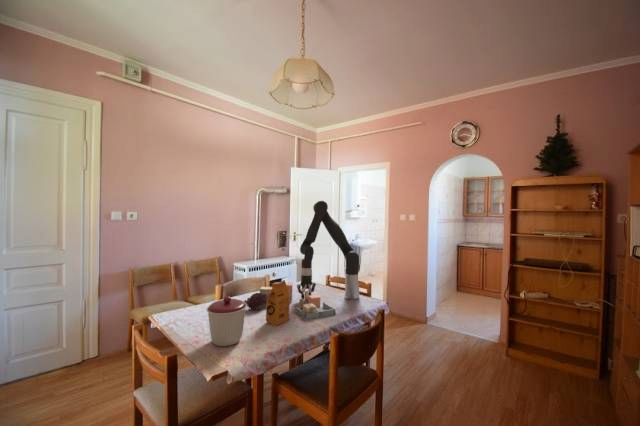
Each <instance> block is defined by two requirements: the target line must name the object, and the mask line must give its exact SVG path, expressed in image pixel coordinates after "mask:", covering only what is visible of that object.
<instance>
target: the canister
mask: <svg viewBox="0 0 640 426" xmlns="http://www.w3.org/2000/svg"><path fill="white" fill-rule="evenodd" d="M247 308H248V306H247V304H246V303H245V302H244V301H243V300H242V299H235V298H232V297H231V296H229V295H227V296H225V297H223V299H221V300H217V301H214V302H212V303H211V304H209V305H207V307H206V309H205V310H206V312H207V313H208V315H207V316H208V323H209V332H210V338H211V342H212V344H214V346H217V347H230V346H233V345H235V344H237V343H238V342H240V340H241V339H242V337H243V332H244V325H245V324H244V323H245V316H246V309H247Z"/></svg>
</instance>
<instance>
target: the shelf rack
mask: <svg viewBox="0 0 640 426" xmlns="http://www.w3.org/2000/svg"><path fill="white" fill-rule="evenodd" d="M322 308H324V309H325V310H321V309H319V308H318V307H317V312H313V313H307V314H306V313H304V312H303V310H301V309H299V306H295V313H296V314H298V315H299V316H300V317H301V318H302V319H304V320H305V321H306V320H307V321H308V320H311V319H312V320H313V319H317V318H322V317H328V316H333V315H336V308H334V307H332V306H331V305H329V304H328V303H327V302H322Z"/></svg>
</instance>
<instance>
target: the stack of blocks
mask: <svg viewBox="0 0 640 426" xmlns="http://www.w3.org/2000/svg"><path fill="white" fill-rule="evenodd" d="M286 285H287V288H288V291H289V303H290V304H292V303H293V302H292V301H293V282H286ZM271 289H272V286H261V287H260V288H259V293H263V294H266V296H269V294H270V293H271Z"/></svg>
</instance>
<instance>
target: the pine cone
mask: <svg viewBox="0 0 640 426" xmlns="http://www.w3.org/2000/svg"><path fill="white" fill-rule="evenodd" d="M267 298H268V296H266V294H263V293H260V292H255V293H253V294H251V295H250V297H247V300H246V299H244V301H243V302H245V303H246V304H247V307H248V309H250V310H253V311H254V310H255V311H256V310H257V309H259V308H261V306H264V305H266V302H267Z"/></svg>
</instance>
